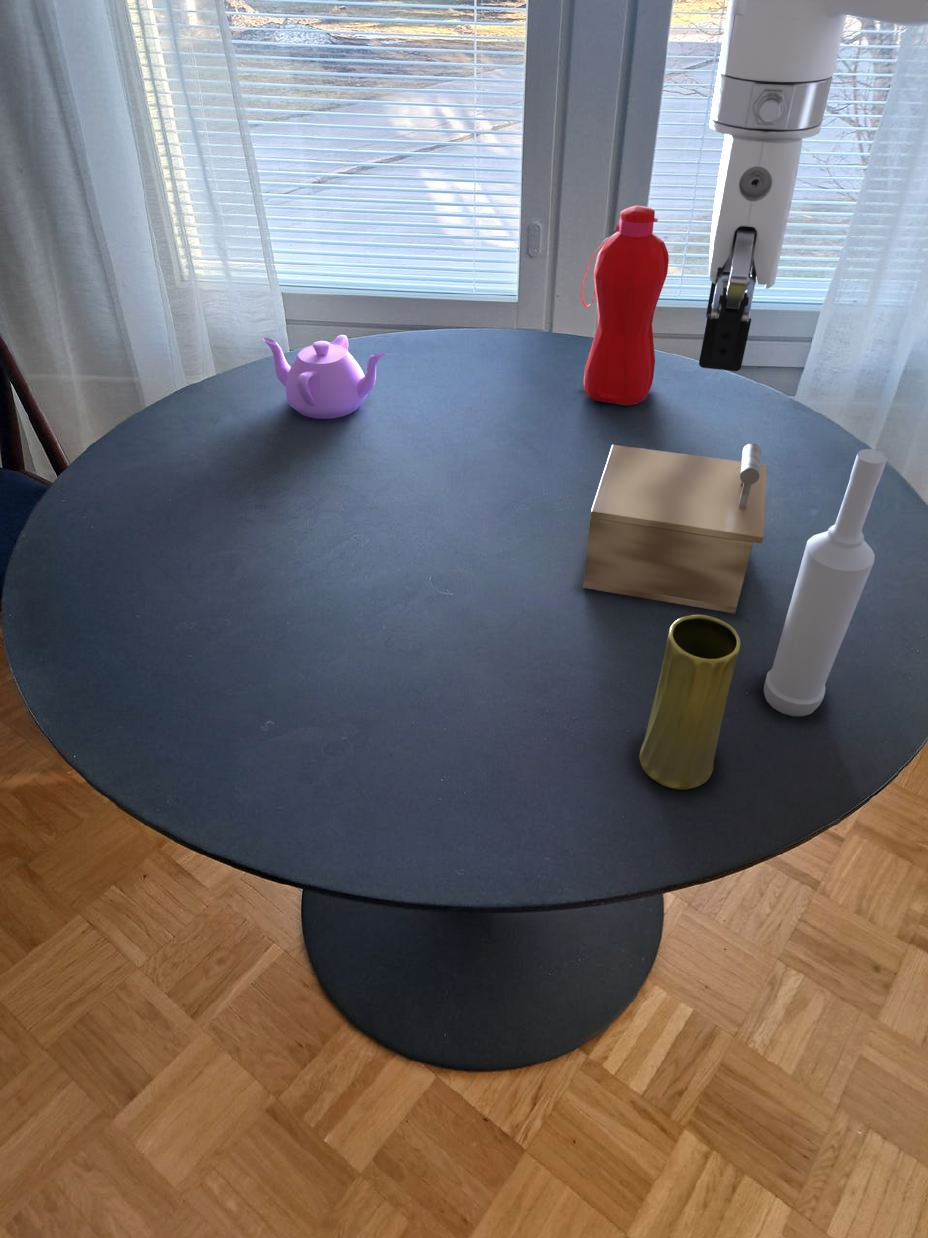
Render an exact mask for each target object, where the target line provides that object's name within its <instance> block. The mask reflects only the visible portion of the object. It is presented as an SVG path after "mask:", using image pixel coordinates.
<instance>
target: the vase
mask: <svg viewBox="0 0 928 1238" xmlns="http://www.w3.org/2000/svg"><path fill="white" fill-rule="evenodd" d="M740 648H741V638H740V636H739V634H738V632H737V631H736V629H735V628H734V627H733V626H731V624H729V623H727V622H726V621H723V620H722V619H720V618H717V617H714V616H710V615H706V614H692V615H685V616H682V617H680V618H678V619H677V620H675V621H674V622H673V623H672V624H671V626H670V627H669V630H668V635H667V640H666V645H665V650H664V655H663V660H662V665H661V669H660V670H661V671H660V674H659V678H658V683H657V686H656V691H655V695H654V698H653V704H652V707H651V711H650V713H649V719H648V723H647V727H646V732H645V735H644V740H643V742H642V745H641V747H640V751H639V762H640V765H641V768H642V770H643V772H645V774H646V775H647V776H648V777H649V778H651V780H654V782H656V783H658V784H660V786H663V787H666V788H669V789H673V790H682V791H683V790H684V791H685V790H692V789H696V788H698V787H700V786H702V785H703V784H705V783H706V782H707V781H708V780H709V779H710V778H711V776H712V773H713V771H714V763H715V761H714V760H715V756H716V752H717V747H718V742H719V738H720V733H721V726H722V721H723V717H724V713H725V709H726V706H727V700H728V696H729V691H730V687H731V683H732V678H733V675H734V670H735V666H736V663H737V659H738V656H739V652H740Z"/></svg>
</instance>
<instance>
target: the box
mask: <svg viewBox="0 0 928 1238" xmlns="http://www.w3.org/2000/svg"><path fill="white" fill-rule="evenodd" d="M587 535H588V537H587V546H586V554H585V555H586V556H585V564H584V565H585V566H584V574H583V584H582V588H583V589H588V590H593V591H599V592H605V593H611V594H617V595H622V596H623V595H624V596H629V597H635V598H640V599H641V598H642V599H646V600H653V601H659V602H665V603H671V604H677V605H681V606H688V607H693V608H699V609H705V610H712V611H718V612H722V613H729V614H735V615H736V611H737V609H738V608H737V607H738V604H739V600H740V596H741V592H742V589H743V585H744V581H745V577H746V572H747V569H748V565H749V561H750V557H751V553H752V549H753V545H754V543H753V542H747V541H740V540H734V539H727V538H720V537H714V536H707V535H701V534H694V533H688V532H681V531H674V530H668V529H661V528H655V527H648V526H642V525H635V524H628V523H622V522H615V521H609V520H602V519H596V518H591V517H590V518H589V527H588V534H587Z"/></svg>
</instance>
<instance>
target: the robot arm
mask: <svg viewBox="0 0 928 1238" xmlns="http://www.w3.org/2000/svg"><path fill="white" fill-rule="evenodd" d="M847 16H850V17H855V18H857V17H858V18H862V19H867V20H871V21H876V22H881V23H886V24H891V25H896V26H901V27H925V26H928V0H728V6H727V13H726V20H725V26H724V33H723V39H722V44H721V49H720V50H721V51H720V56H719V62H718V69H717V70H718V71H717V76H716V82H715V87H714V93H713V94H714V95H713V99H712V107H711V113H710V119H709V124H708V125H709V126H708V127H710V129H712V130H713V131H715V132H717V133H720V134H723V135H724V141H723V147H722V151H721V152H722V153H721V159H720V165H719V170H718V177H717V182H716V183H717V184H716V185H717V186H716V190H715V197H714V204H713V212H712V213H713V214H712V221H711V232H710V243H709V259H708V260H709V261H708V263H709V264H708V279H709V280H710V282H711V285H710V291H709V296H708V302H707V307H706V313H705V318H706V320H705V326H704V331H703V338H702V344H701V348H700V349H701V350H700V354H699V359H698V365H699V367H700V368H702V369H710V370H718V371H719V370H720V371H728V372H729V371H730V372H737V371H740V370H741V369H742V365H743V361H744V356H745V351H746V346H747V342H748V337H749V332H750V329H751V323H752V318H751V317H750V316H751V310H752V304H753V299H754V292H755V286H756V284H758V285H761V286H763V285H764V289H771V287H773V286H774V285H775V284H776V278H777V274H778V269H779V263H780V260H781V259H780V258H781V254H782V249H783V243H784V239H785V233H786V229H787V226H788V225H787V224H788V221H789V215H790V211H791V205H792V201H793V197H794V191H795V187H796V181H797V176H798V170H799V165H800V159H801V152H802V146H803V139H807V138H811V137H815V136H816V135H818V134H820V132H821V128H822V124H823V123H822V122H823V120H824V116H825V111H826V106H827V103H828V99H829V94H830V90H831V86H832V81H833V75H834V74H835V73H834V72H835V68H836V63H837V60H838V56H839V50H840V46H841V42H842V39H843V35H844V29H845V26H846V21H847V18H848V17H847Z"/></svg>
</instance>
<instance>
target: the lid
mask: <svg viewBox="0 0 928 1238" xmlns="http://www.w3.org/2000/svg"><path fill="white" fill-rule="evenodd" d="M761 460H762V448H761V446H759V444H757V443H754V442H751V443H750V442H749V443H747V444H745V445H744V447H743V448H742V451H741V459H740V461H739V460H732V459H724V458H723V459H722V458H718V457H717V458H715V457H708V456H701V455H693V454H686V453H678V452H671V451H665V450H664V451H663V450H656V449H649V448H641V447H633V446H626V445H617V444H612V445H611V447H610V451H609V454H608V456H607V460H606V464H605V467H604V470H603V473H602V476H601V478H600V482H599V485H598V489H597V491H596V495H595V497H594V501H593V504H592V507H591V510H590V516H589V517H590V518H596V519H602V520H609V521H615V522H622V523H628V524H635V525H642V526H648V527H655V528H661V529H668V530H674V531H681V532H688V533H694V534H701V535H707V536H714V537H720V538H727V539H734V540H740V541H747V542H753V544H761V545H763V541H764V539H765V538H764V537H765V518H766V502H767V483H768V482H767V480H768V479H767V478H768V465H767V464H761Z"/></svg>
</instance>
